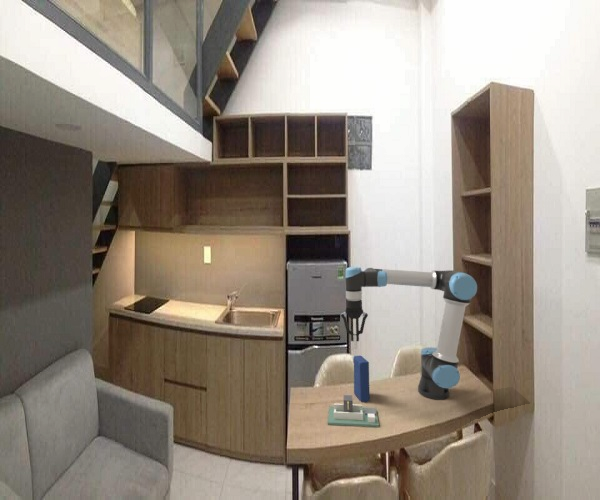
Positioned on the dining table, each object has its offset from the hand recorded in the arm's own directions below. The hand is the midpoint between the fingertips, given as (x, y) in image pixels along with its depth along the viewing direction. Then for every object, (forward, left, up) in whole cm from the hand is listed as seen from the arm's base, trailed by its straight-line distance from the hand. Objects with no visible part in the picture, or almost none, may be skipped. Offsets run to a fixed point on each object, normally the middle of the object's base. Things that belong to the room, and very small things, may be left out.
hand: (355, 347), depth 161 cm
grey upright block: (+4, +11, -27) cm, 30 cm away
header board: (+2, +11, -28) cm, 31 cm away
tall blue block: (-3, -8, -29) cm, 30 cm away
